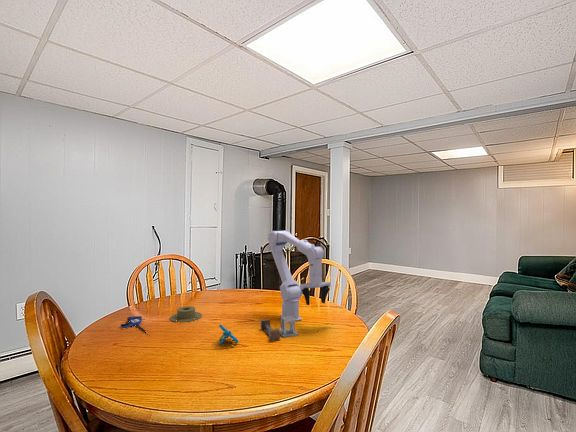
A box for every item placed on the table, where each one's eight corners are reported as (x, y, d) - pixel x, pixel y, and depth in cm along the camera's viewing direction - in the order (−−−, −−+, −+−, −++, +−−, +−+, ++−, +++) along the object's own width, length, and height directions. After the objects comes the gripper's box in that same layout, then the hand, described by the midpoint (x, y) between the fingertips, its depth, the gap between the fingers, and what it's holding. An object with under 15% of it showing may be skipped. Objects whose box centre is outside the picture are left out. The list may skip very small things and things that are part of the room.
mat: (277, 331, 131) (277, 330, 131) (292, 329, 133) (292, 328, 133) (282, 337, 124) (282, 336, 124) (298, 335, 127) (298, 333, 127)
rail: (260, 329, 134) (260, 320, 134) (269, 327, 135) (269, 318, 135) (270, 341, 120) (270, 331, 120) (279, 340, 122) (279, 330, 122)
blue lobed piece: (242, 342, 116) (223, 325, 114) (231, 355, 114) (211, 338, 112) (236, 335, 126) (219, 320, 124) (226, 347, 124) (208, 332, 122)
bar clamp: (115, 319, 140) (138, 314, 147) (115, 324, 140) (138, 319, 147) (142, 342, 117) (167, 335, 124) (142, 348, 117) (167, 341, 124)
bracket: (280, 331, 130) (280, 316, 130) (291, 329, 131) (291, 315, 131) (283, 334, 126) (284, 319, 126) (295, 333, 128) (295, 318, 128)
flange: (162, 311, 145) (187, 315, 139) (184, 303, 159) (208, 306, 153) (162, 321, 145) (187, 325, 139) (184, 312, 159) (208, 315, 153)
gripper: (304, 276, 130) (304, 307, 130) (333, 274, 136) (334, 304, 136) (298, 273, 137) (298, 303, 137) (326, 271, 142) (326, 300, 142)
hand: (315, 303), depth 137 cm, fingers open, 7 cm apart
